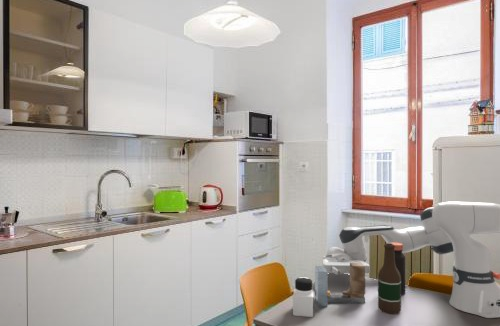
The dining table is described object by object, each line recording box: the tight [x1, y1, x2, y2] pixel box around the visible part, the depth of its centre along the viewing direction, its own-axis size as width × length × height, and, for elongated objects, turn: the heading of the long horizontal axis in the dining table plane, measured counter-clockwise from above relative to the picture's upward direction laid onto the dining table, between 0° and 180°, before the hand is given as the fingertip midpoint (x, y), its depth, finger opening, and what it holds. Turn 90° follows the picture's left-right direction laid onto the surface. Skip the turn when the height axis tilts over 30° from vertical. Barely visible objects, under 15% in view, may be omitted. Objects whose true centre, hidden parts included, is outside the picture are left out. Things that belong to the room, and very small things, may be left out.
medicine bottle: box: [292, 276, 315, 318], centre depth 121 cm, size 7×7×12 cm
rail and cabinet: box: [314, 265, 366, 308], centre depth 129 cm, size 18×7×13 cm, turn 89°
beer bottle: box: [377, 243, 402, 315], centre depth 123 cm, size 8×8×24 cm
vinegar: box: [390, 243, 406, 296], centre depth 140 cm, size 7×7×20 cm
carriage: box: [341, 263, 366, 298], centre depth 131 cm, size 8×4×12 cm, turn 89°
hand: (349, 272), depth 140 cm, fingers open, 8 cm apart
